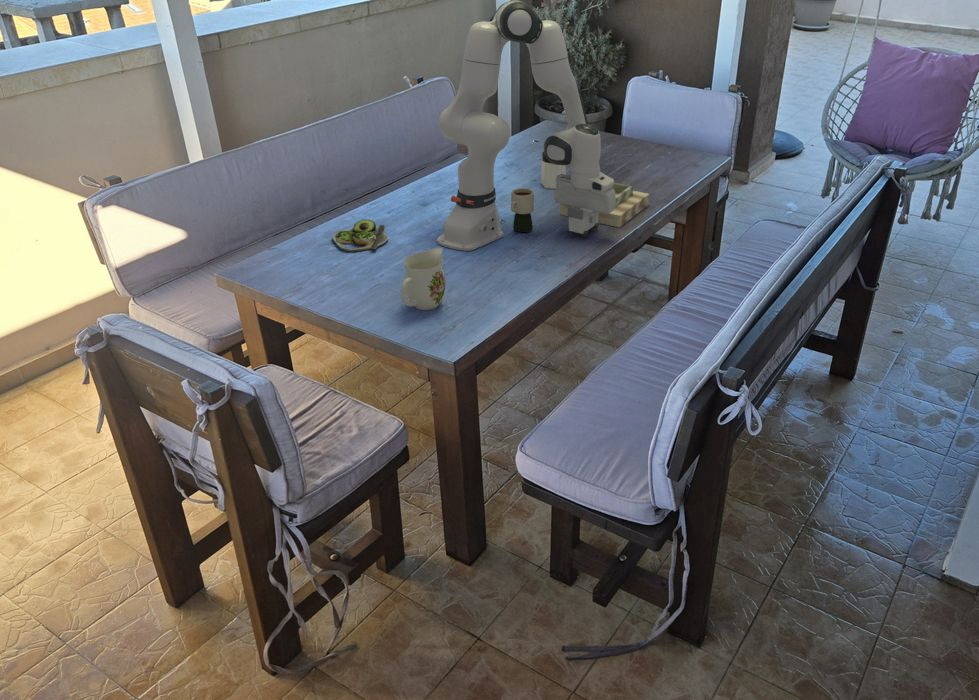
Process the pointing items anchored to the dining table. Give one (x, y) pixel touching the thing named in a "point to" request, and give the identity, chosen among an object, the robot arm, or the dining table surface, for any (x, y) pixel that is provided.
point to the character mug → (522, 208)
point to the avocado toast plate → (361, 236)
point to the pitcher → (424, 280)
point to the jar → (550, 172)
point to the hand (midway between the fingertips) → (583, 220)
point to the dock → (620, 206)
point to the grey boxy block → (581, 221)
